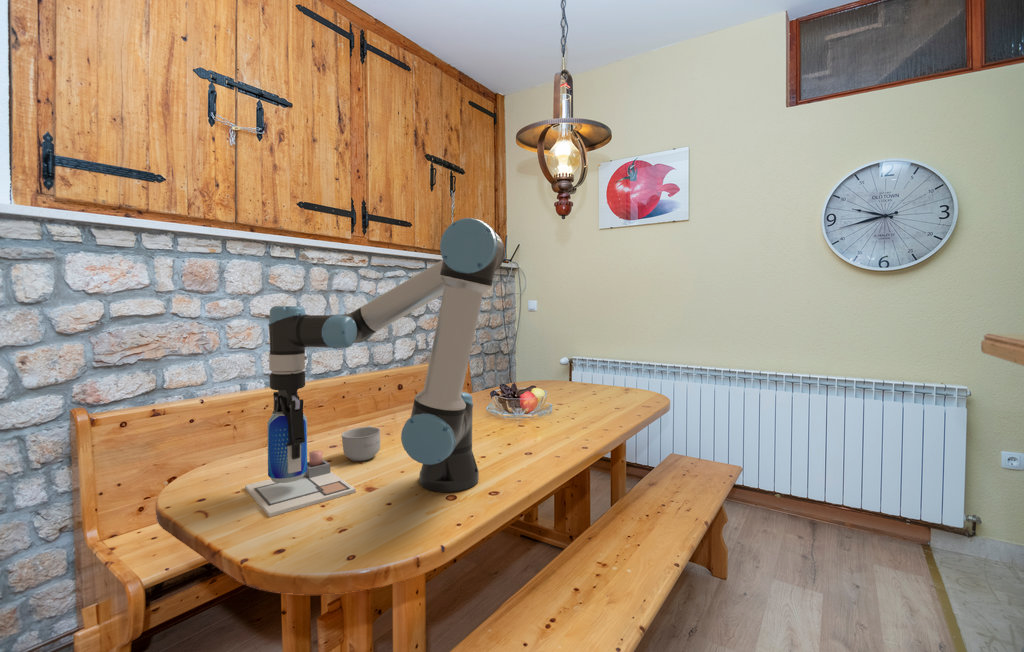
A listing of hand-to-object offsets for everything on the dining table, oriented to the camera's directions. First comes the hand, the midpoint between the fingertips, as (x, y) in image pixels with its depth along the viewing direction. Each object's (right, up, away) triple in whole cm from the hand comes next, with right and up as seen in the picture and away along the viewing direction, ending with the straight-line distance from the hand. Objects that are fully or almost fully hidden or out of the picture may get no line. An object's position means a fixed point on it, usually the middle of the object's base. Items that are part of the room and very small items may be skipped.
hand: (288, 466), depth 107 cm
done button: (+2, -3, +11) cm, 12 cm away
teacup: (+9, -6, +27) cm, 29 cm away
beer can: (0, -3, 0) cm, 3 cm away
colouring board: (+2, -6, +2) cm, 7 cm away
